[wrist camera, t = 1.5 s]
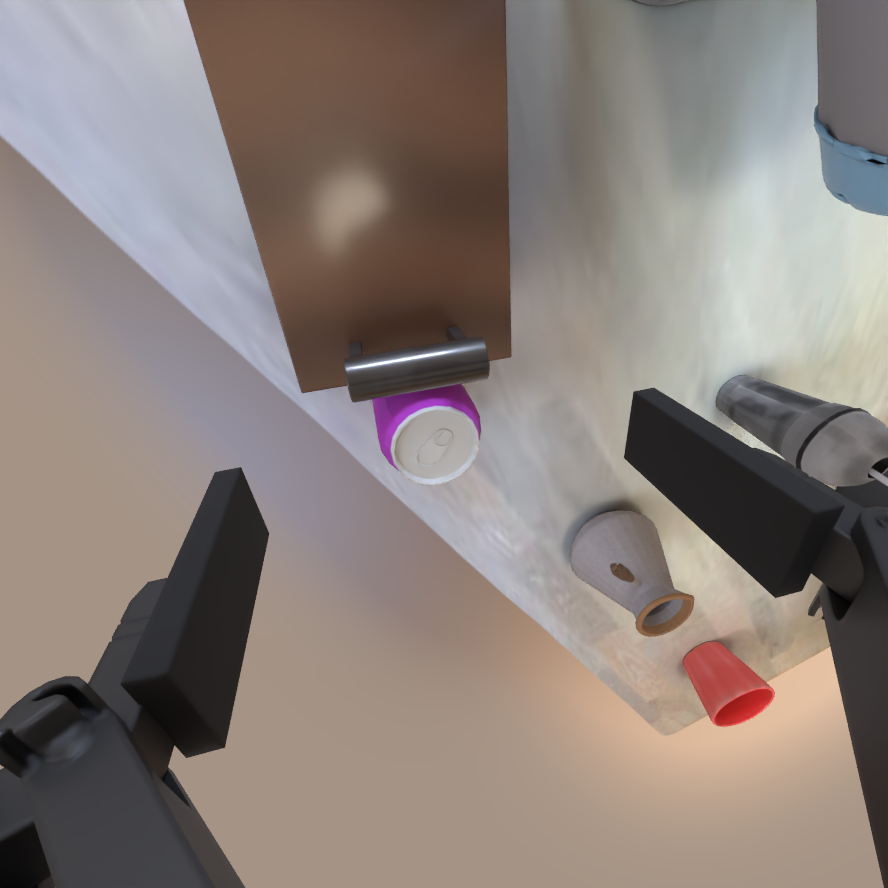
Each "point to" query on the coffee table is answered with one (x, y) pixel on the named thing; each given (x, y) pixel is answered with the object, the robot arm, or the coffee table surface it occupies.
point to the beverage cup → (809, 431)
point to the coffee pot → (630, 569)
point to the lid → (372, 180)
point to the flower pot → (726, 684)
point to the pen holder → (867, 493)
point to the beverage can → (429, 433)
